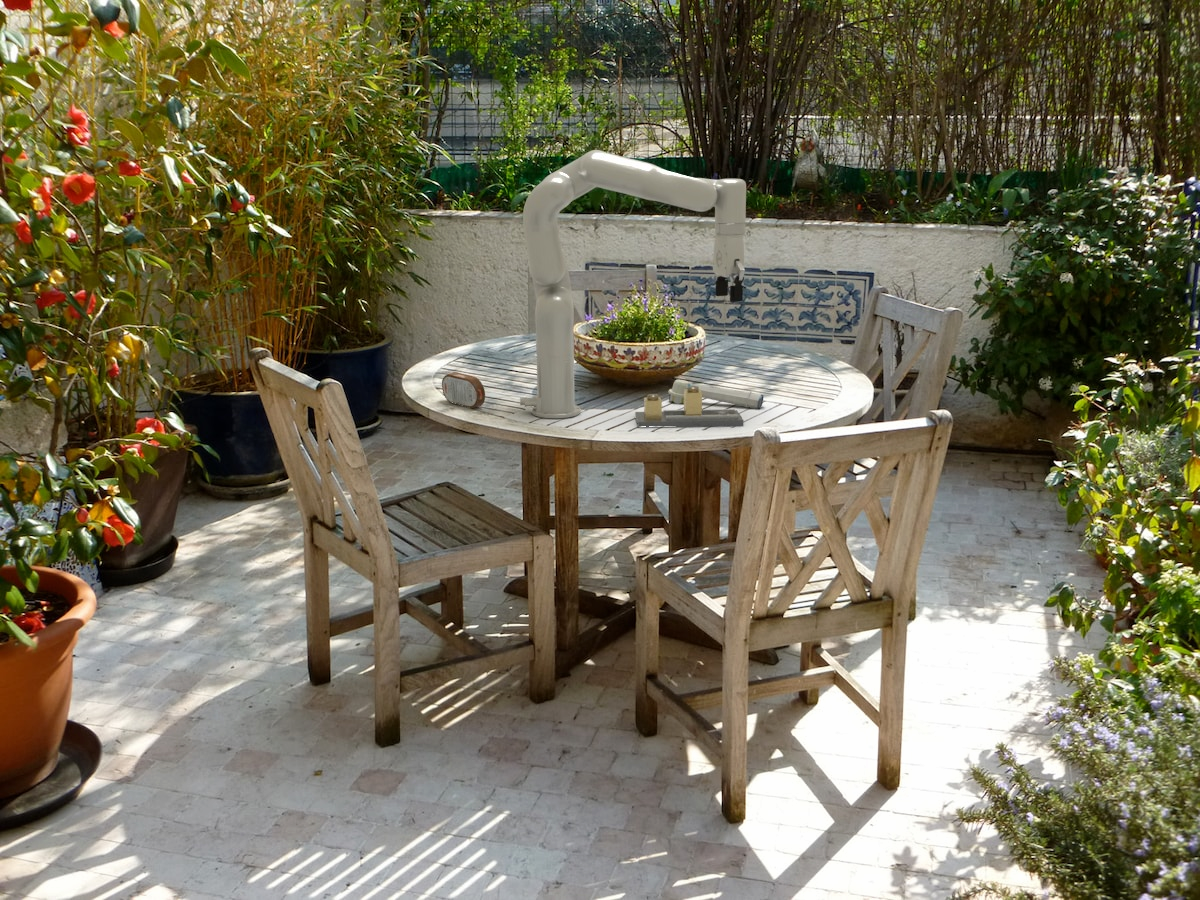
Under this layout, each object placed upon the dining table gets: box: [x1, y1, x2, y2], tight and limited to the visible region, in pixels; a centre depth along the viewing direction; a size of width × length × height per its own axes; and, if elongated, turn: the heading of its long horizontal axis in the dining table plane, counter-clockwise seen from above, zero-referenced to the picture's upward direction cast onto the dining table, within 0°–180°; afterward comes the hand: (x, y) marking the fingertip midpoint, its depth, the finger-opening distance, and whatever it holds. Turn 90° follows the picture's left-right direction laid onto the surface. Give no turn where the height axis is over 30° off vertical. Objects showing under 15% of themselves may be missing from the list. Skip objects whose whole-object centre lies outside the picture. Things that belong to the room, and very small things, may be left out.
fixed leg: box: [643, 393, 663, 419], centre depth 294 cm, size 4×4×6 cm
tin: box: [441, 371, 486, 409], centre depth 312 cm, size 15×3×8 cm, turn 47°
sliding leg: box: [683, 386, 703, 415], centre depth 294 cm, size 4×4×7 cm
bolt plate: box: [634, 408, 745, 428], centre depth 295 cm, size 26×10×2 cm, turn 93°
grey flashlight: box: [667, 379, 764, 409], centre depth 312 cm, size 5×7×25 cm
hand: (728, 298), depth 297 cm, fingers open, 9 cm apart
